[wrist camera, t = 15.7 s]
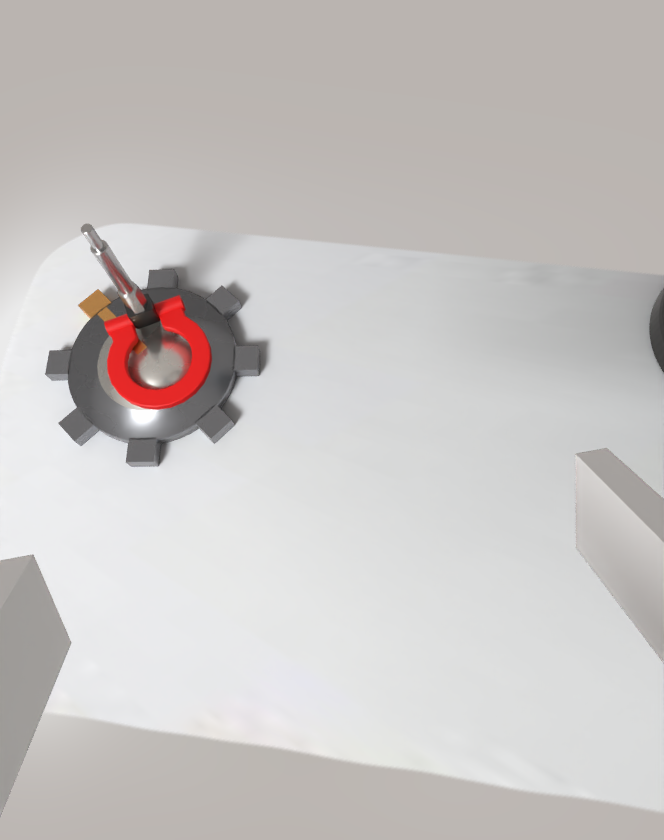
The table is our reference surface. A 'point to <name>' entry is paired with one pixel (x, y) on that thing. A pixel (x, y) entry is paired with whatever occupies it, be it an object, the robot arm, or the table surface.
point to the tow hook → (143, 315)
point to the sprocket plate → (152, 372)
